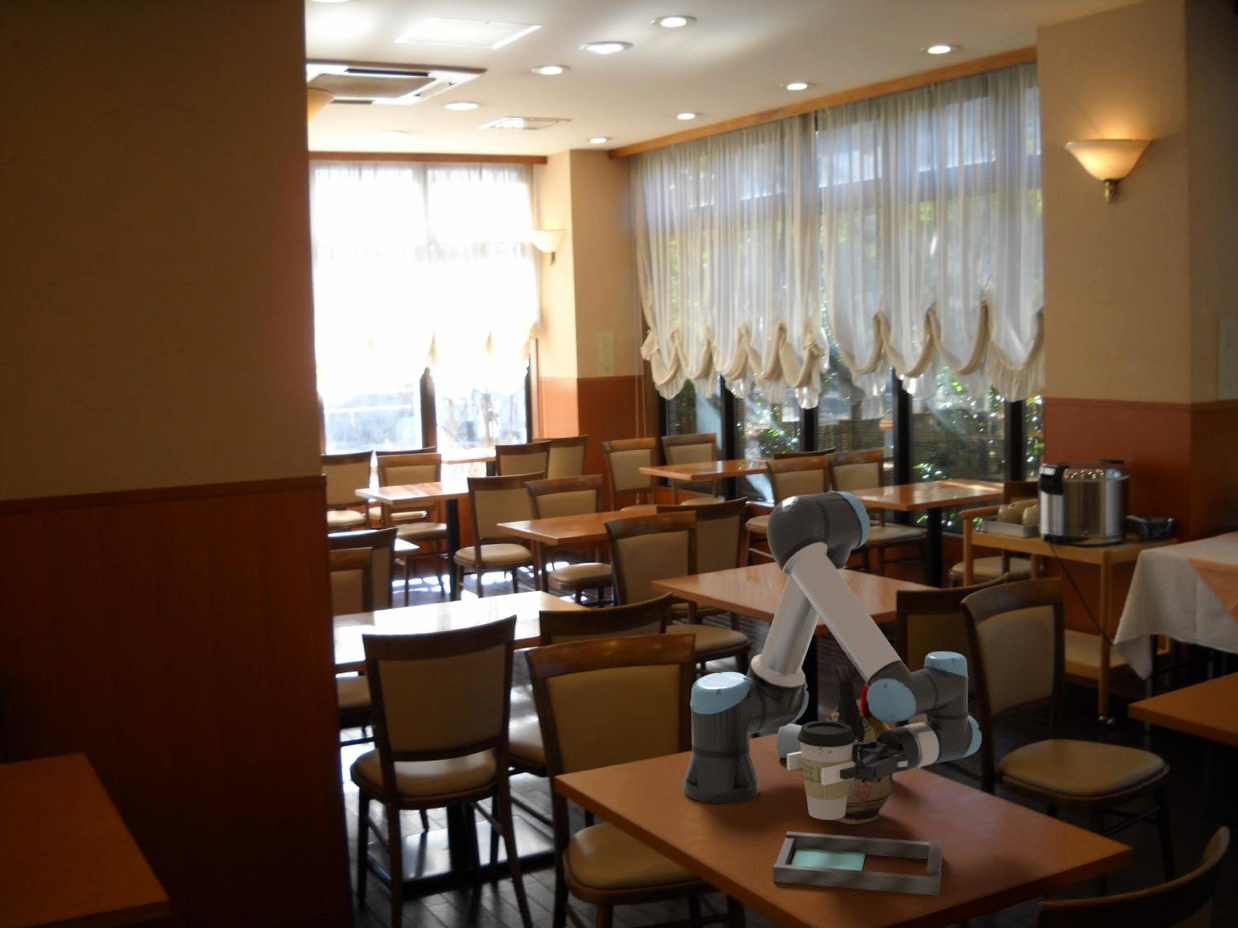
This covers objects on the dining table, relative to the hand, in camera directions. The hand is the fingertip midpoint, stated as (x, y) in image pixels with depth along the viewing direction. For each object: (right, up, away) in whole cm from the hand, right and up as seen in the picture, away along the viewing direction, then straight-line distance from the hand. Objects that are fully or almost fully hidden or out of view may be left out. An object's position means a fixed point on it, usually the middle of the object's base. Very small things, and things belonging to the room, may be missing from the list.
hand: (805, 769), depth 218 cm
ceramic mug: (+8, -13, +66) cm, 68 cm away
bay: (+10, -18, +2) cm, 20 cm away
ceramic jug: (+13, -16, +27) cm, 34 cm away
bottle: (+21, -14, +52) cm, 58 cm away
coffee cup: (+4, -8, +3) cm, 10 cm away
